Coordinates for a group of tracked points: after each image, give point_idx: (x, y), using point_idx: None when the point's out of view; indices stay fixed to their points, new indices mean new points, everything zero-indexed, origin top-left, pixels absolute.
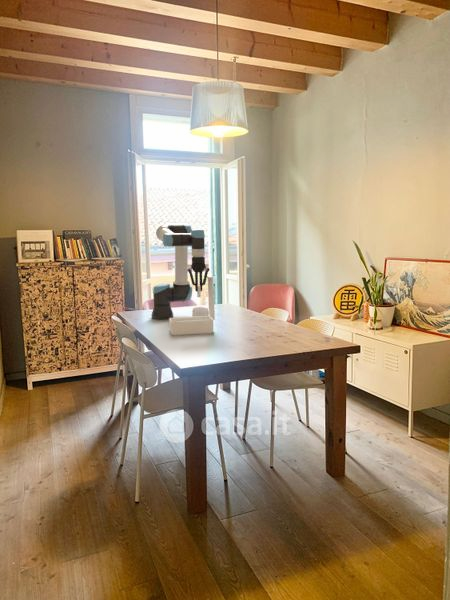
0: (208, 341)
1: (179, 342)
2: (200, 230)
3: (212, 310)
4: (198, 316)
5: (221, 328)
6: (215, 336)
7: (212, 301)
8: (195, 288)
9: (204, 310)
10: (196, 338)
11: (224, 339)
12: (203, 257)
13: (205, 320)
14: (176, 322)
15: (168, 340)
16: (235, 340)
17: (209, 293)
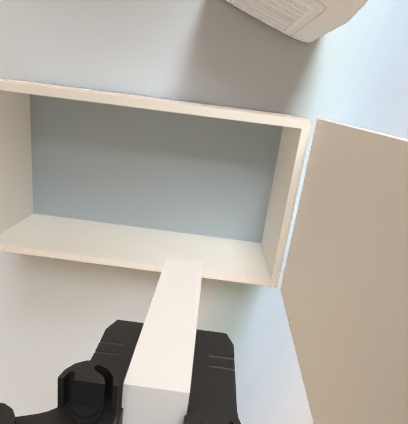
0: None
1: (51, 354)
2: None
3: (298, 294)
4: (220, 109)
5: None
6: (246, 315)
7: (313, 368)
8: (92, 360)
9: (322, 9)
10: (143, 316)
11: (261, 381)
12: None
13: (220, 278)
14: (15, 250)
15: (4, 302)
16: (298, 413)
17: (386, 264)
